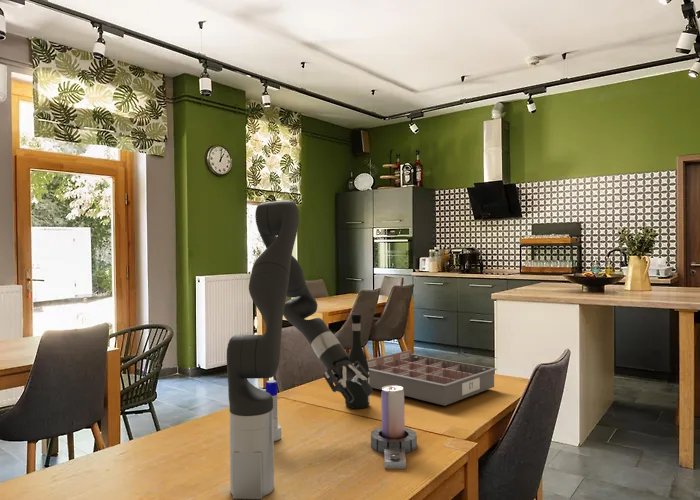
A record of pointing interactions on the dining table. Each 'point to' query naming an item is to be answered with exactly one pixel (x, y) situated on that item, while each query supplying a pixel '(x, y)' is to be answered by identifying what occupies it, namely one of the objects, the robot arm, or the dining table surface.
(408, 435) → the pipe clamp bracket
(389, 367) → the organizer tray
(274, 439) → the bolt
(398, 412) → the beverage can
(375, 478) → the dining table surface
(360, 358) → the wine bottle
